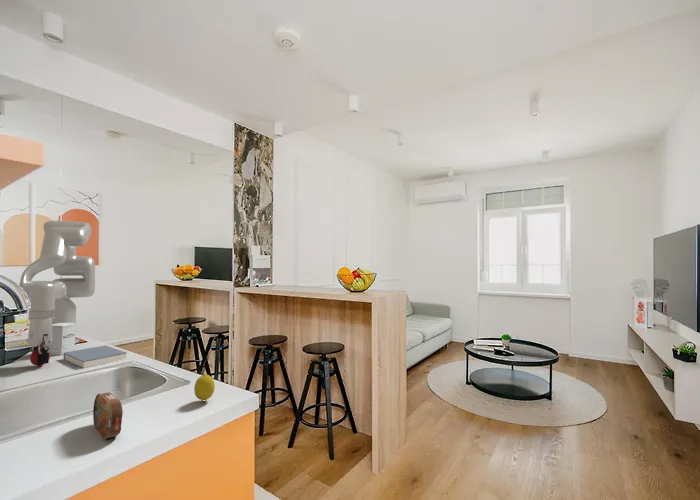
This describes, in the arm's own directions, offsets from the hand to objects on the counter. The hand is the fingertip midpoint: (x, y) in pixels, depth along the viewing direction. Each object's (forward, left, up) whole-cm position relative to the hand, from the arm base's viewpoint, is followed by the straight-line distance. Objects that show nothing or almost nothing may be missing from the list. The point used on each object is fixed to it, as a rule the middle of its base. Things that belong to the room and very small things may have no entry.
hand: (40, 361), depth 132 cm
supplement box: (-12, +17, -2) cm, 21 cm away
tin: (+68, -35, -2) cm, 77 cm away
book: (+11, +13, -2) cm, 17 cm away
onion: (0, 0, -2) cm, 2 cm away
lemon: (+80, -14, -2) cm, 81 cm away
